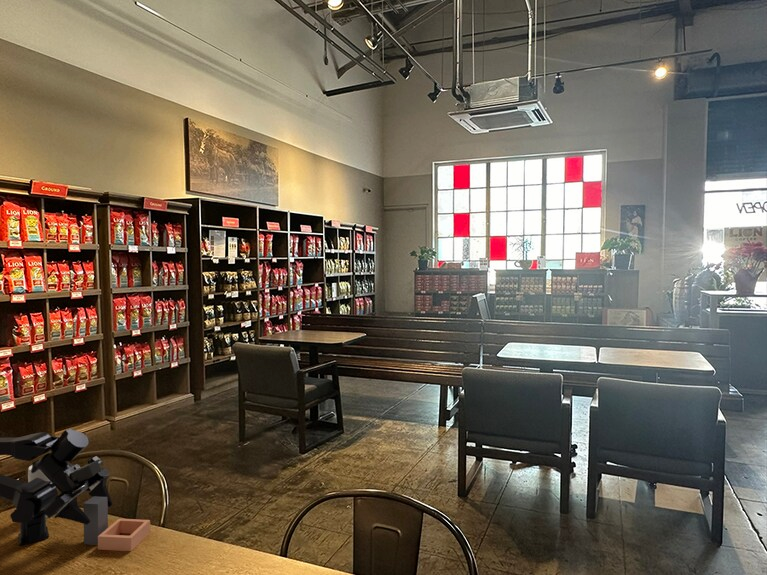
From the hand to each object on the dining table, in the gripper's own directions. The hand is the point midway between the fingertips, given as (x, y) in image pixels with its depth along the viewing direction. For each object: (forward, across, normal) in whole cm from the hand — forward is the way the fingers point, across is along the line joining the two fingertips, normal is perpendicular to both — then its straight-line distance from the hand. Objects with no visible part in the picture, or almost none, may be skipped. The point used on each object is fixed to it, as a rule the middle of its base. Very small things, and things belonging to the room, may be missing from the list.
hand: (100, 514), depth 131 cm
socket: (+10, 0, 0) cm, 10 cm away
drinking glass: (-12, +11, +23) cm, 28 cm away
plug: (+4, 0, +6) cm, 7 cm away
